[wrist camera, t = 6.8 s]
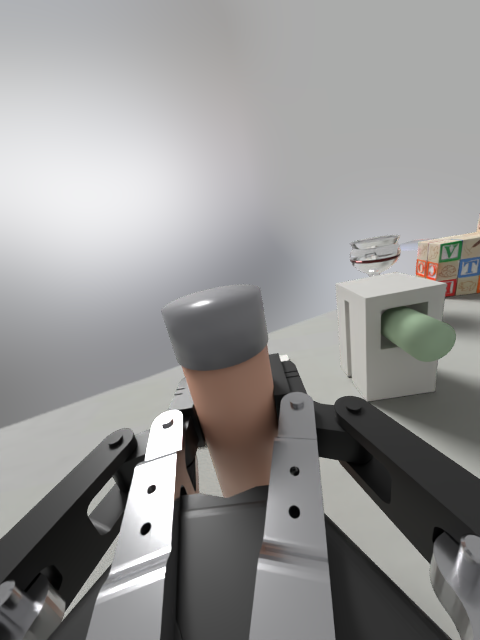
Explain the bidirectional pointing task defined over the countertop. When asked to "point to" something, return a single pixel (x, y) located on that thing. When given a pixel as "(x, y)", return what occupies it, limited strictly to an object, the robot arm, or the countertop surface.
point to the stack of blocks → (452, 262)
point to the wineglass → (375, 254)
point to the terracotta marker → (228, 379)
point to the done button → (417, 333)
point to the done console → (373, 348)
